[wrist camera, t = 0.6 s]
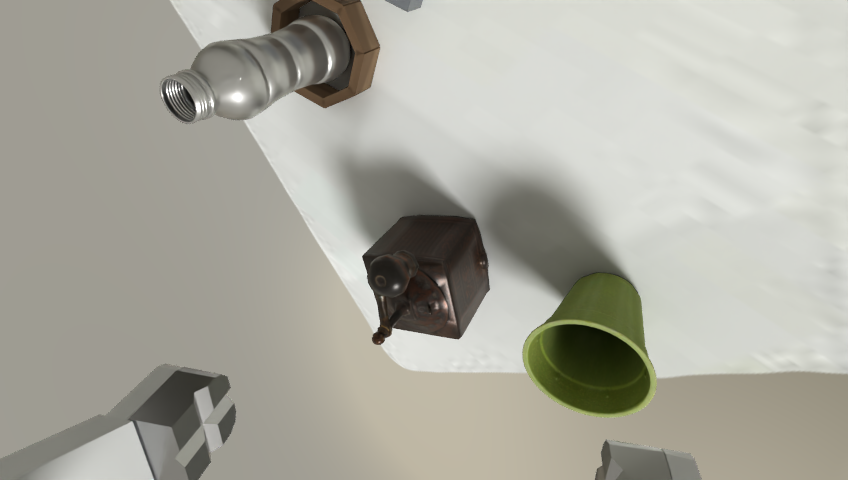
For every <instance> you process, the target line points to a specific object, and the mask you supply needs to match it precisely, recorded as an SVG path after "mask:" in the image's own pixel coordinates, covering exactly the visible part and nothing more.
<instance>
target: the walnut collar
mask: <svg viewBox="0 0 848 480" xmlns="http://www.w3.org/2000/svg"><path fill="white" fill-rule="evenodd" d="M311 1H314V2H316V3H318V4H320V5H321V6H323V7H325V8H327V9H329V10H331V11H333V12H335V13H337V14H338V16H339V18H340V20H341V22H342V25H343V27H344V29H345V31H346V34H347V36H348V38H349V40H350V42H351V45H352V47H353V49H354V51H355V57H354V61H353V66H352V71H351V75H350V80H349V85H348V87H346V88H344V89H341V90H337V89H335V88H333V87H332V86H330V85H328V84H326V83H321V84H313V85H309V86H306V87H303V88H300V89H297V90H295V92H296V93H298V94H300V95H302V96H303V97H305V98H307V99H309V100H311V101H312V102H314V103H316V104H318V105H319V106H321V107H323V108H327V107H329V106H332V105H334V104H336V103H339V102H341V101H344V100H346V99H348V98H351V97H353V96H355V95H357V94H359V93H361V92H363V91H365V90H367V89H368V88H370V87H371V83H372V79H373V75H374V71H375V67H376V62H377V58H378V54H379V50H380V47H379V46H380V45H379V43H378V40H377V38H376V36H375V33H374V31H373V29H372V26H371V24H370V22H369V19H368V17H367V14H366V12H365V10H364V7H363V5H362V3H361V2H360V0H279V1H278V2H276V3H275V4H274V5H273V14H272V25H271V33H273V32H275V31H278V30H280V29H282V28H284V27H286V26H288V25H289V24H290V23H292V22H293V21H295V20H297V19H298V18H299V10H300V8H301V7H303V6H304V5H306V4H307V3H309V2H311Z"/></svg>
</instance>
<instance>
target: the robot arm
mask: <svg viewBox="0 0 848 480" xmlns="http://www.w3.org/2000/svg"><path fill="white" fill-rule="evenodd" d="M230 388H231V387H230V383H229V380H228V377H227V376H225V375H222V374H216V373H211V372H207V371H202V370H197V369H191V368H187V367H180V366H175V365H170V364H163V365H161V366H158V367H157V368H155V369H154V371H152V372H151V373H150V374H149V375H148V376H147V377H146V378H145V379H144V380H143V381H142V382H140V383H139V384H138V385H137V386H136V387H135V388H134V389H133V390H132V391H131V392H130V393H129V394H128V395H127V396H126V397H125V398H123V400H121V402H119V403H118V404H117V405H116V406H115V407H114V408H113V409H112V410H111V411H110V412H109V413H108V414H106V415H97V416H95V417H93V418H90V419H88V420H86V421H84V422H81V423H79V424H77V425H75V426H73V427H70V428H68V429H66V430H64V431H61V432H59V433H57V434H55V435H52V436H50V437H48V438H46V439H44V440H41V441H39V442H37V443H34V444H32V445H30V446H28V447H26V448H23V449H21V450H19V451H17V452H14V453H12V454H10V455H8V456H5V457H3V458H1V459H0V480H198V479H199V478H200V477H201V475H202V474H203V472H204V471H205V470H206V468H207V467H208V465H209V464H210V463H211V452H212V451H214V450H216V449H217V448H219V447H221V446H223V444H224V443H225V442H226V440H227V439H228V437H229V436H230V434H231V432H232V429H233V426H234V424H235V420H236V419H235V418H236V409H235V404H234V402H233V401H232V400H231V398H230V397H229V396H228V395H227V392H228V391H229V390H230ZM601 457H602V466H601V467H599V468H598V469H597V472H596V476H595V480H702V478H701V476H700V473H699V470H698V467H697V464H696V461H695V458H693V456H692V455H691V454H690V453H685V452H679V451H673V450H667V449H659V448H656V447H650V446H644V445H637V444H631V443H624V442H619V441H612V440H606V441H605V442H604V444H603V447H602V451H601Z"/></svg>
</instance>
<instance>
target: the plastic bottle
mask: <svg viewBox="0 0 848 480" xmlns="http://www.w3.org/2000/svg"><path fill="white" fill-rule="evenodd" d="M349 60H350V45H349V41H348V38H347V36H346V34H345V32H344V31H343V30H342V28H341V27H340V26H339V25H338V24H337V23H336V22H335V21H333V20H332V19H330V18H328V17H326V16H322V15H305V16H303V17H300V18H299V19H297V20H295V21H293V22H292V23H290V24H289V25H288V26H286V27H284V28H282V29H280V30H278V31H275V32H273V33H271V34H267V35H263V36H257V37H253V38H248V39H237V40H224V41H218V42H213V43H211V44H208V45H207V46H206V47H205V48H204V49H202V50H201V51H200V52H199V53H198V55H197V56H196V58H195V60H194V62H193V64H192V66H191V69H185V70H182V71H179V72H178V73H176V74H174V75H170V76H167V77H165V78H164V79H163V80H162V81H161V83H160V94H161V98H162V100H163V102H164V105H165V106H166V108H167V109H168V111H169V112H170V113H171V114H172V115H173V116H174V117H175V118H176V119H177V120H179V121H180V122H182V123H186V124H191V123H195V122H197V121H200V120H205V119H208V118H211V117H212V116H214V115H217V116H220V117H223V118H227V119H231V120H247V119H251V118H253V117H255V116H256V115H258V114H260V113H261V112H263V111H264V110H265V109H267V108H268V107H269V106H271V105H272V104H273V103H275V102H276V101H277V100H279V99H280V98H282V97H284V96H286V95H288V94H289V93H291V92H293V91H295V90H297V89H300V88H303V87H306V86H309V85H313V84H321V83H325V82H329V81H333V80H334V79H336V78H337V77H338V76H340V75H341V74H342V73H343V72H344V71H345V70H346V68H347V66H348V64H349Z"/></svg>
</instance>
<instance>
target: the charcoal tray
mask: <svg viewBox="0 0 848 480" xmlns="http://www.w3.org/2000/svg"><path fill="white" fill-rule="evenodd" d="M385 1H387V2H389V3H391V4H393V5H395V6H397V7H399V8H401V9H403V10H405V11H407V12H409V11H412V10H415V9H417V8H420V7H421V4H422V1H423V0H385Z"/></svg>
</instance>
